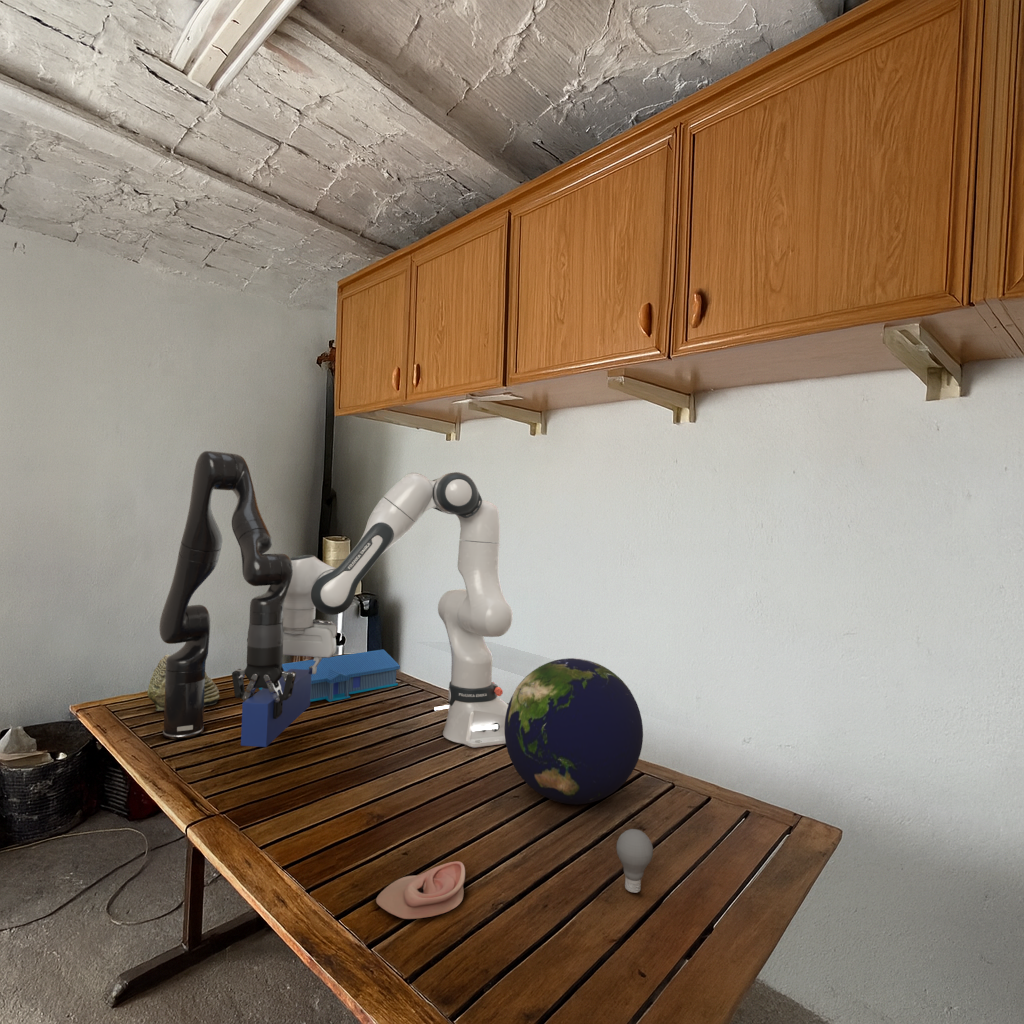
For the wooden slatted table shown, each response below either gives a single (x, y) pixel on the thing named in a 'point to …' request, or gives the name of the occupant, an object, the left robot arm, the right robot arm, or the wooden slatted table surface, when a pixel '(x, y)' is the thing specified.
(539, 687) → the globe
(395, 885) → the anatomical model
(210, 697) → the fossil
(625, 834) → the light bulb
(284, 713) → the bar
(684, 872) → the wooden slatted table surface
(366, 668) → the model building
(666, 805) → the wooden slatted table surface
